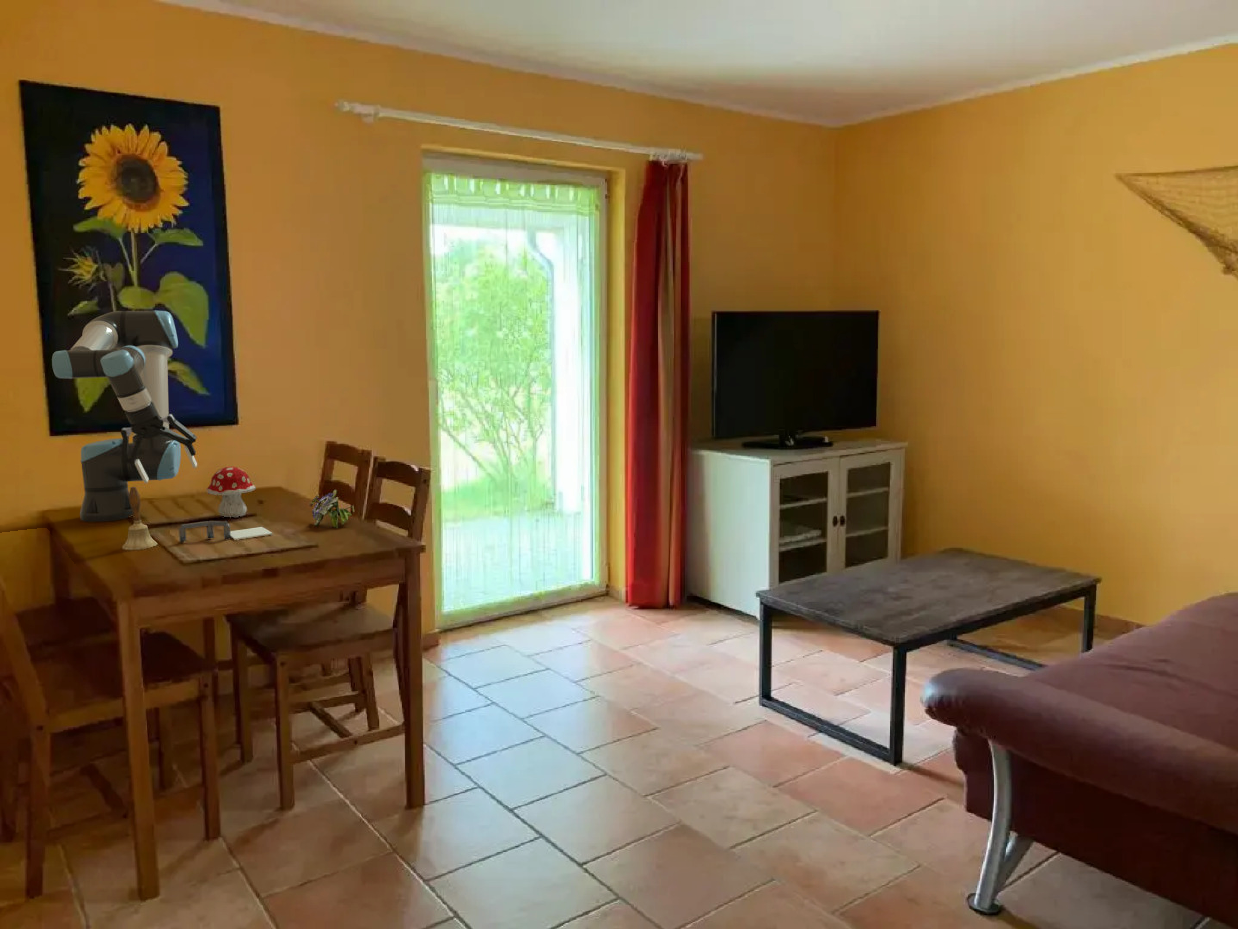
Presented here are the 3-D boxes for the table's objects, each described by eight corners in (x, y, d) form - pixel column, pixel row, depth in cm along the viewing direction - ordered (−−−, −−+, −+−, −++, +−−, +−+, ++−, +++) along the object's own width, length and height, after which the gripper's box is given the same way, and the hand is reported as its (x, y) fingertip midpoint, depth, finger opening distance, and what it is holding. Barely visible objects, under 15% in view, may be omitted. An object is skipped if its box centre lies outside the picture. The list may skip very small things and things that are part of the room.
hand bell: (143, 551, 248) (137, 490, 246) (115, 549, 250) (109, 489, 247) (164, 543, 256) (158, 484, 254) (136, 542, 258) (131, 483, 255)
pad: (225, 534, 266) (224, 532, 265) (262, 528, 271) (261, 526, 271) (235, 540, 258) (234, 538, 257) (272, 535, 263) (272, 533, 263)
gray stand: (179, 542, 257) (177, 524, 256) (226, 535, 264) (225, 518, 263) (183, 546, 253) (182, 528, 252) (231, 539, 260) (230, 521, 259)
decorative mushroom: (197, 519, 285) (193, 469, 283) (230, 510, 298) (226, 462, 296) (236, 522, 281) (232, 471, 279) (267, 512, 294) (264, 464, 292)
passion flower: (319, 544, 276) (302, 508, 278) (354, 531, 282) (337, 496, 284) (325, 528, 267) (308, 491, 269) (361, 516, 273) (344, 480, 275)
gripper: (88, 425, 256) (123, 493, 266) (183, 397, 260) (214, 464, 270) (94, 415, 263) (128, 482, 272) (186, 388, 267) (216, 454, 276)
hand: (171, 473), depth 271 cm, fingers open, 13 cm apart
